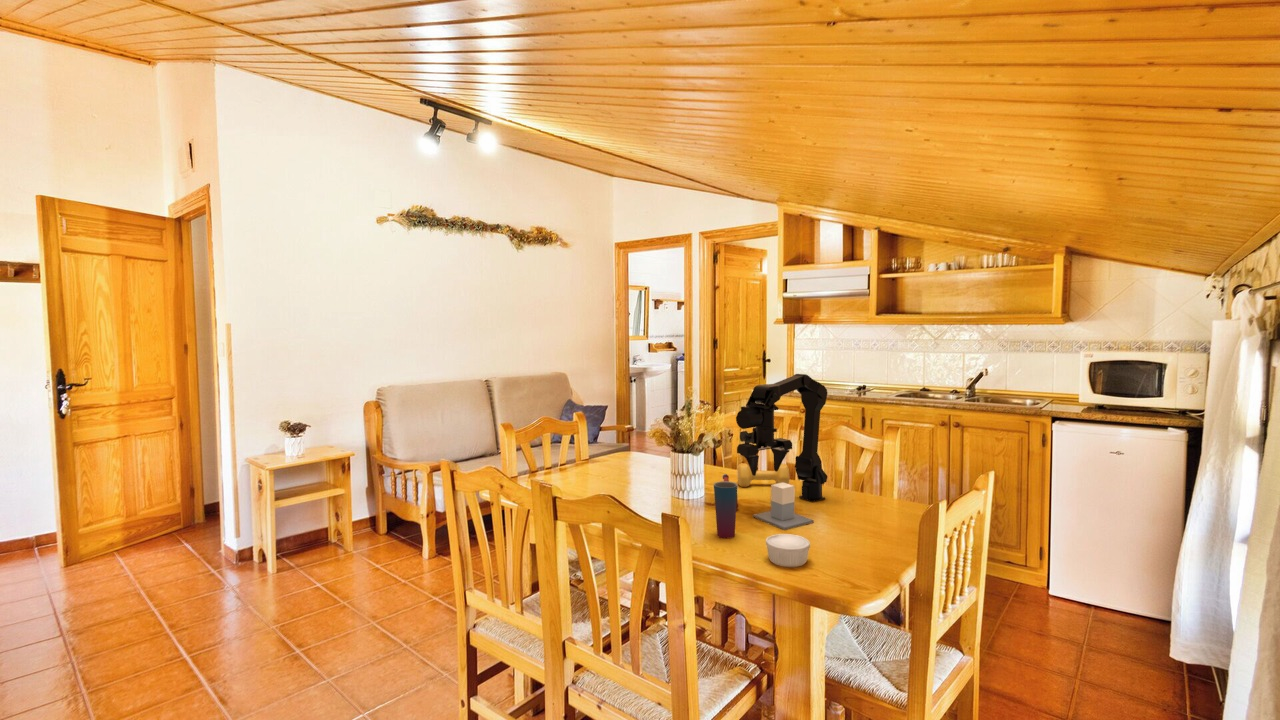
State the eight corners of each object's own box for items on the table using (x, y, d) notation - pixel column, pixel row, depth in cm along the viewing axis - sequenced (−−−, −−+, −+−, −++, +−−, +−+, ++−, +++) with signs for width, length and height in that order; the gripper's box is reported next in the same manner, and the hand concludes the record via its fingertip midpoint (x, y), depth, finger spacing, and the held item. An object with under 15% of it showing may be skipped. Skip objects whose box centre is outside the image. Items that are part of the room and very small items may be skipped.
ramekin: (778, 549, 166) (778, 530, 166) (817, 559, 159) (817, 539, 158) (757, 562, 157) (757, 542, 157) (798, 573, 150) (798, 552, 150)
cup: (739, 532, 179) (739, 482, 178) (735, 540, 173) (735, 488, 172) (716, 530, 181) (716, 480, 180) (711, 538, 175) (711, 486, 174)
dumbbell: (738, 489, 225) (738, 467, 224) (736, 482, 234) (736, 461, 233) (790, 489, 223) (790, 467, 222) (787, 482, 232) (787, 461, 231)
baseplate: (781, 510, 198) (781, 507, 198) (813, 522, 186) (813, 519, 186) (752, 517, 192) (752, 514, 192) (784, 530, 180) (784, 527, 180)
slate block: (782, 513, 193) (782, 497, 192) (794, 517, 188) (794, 501, 188) (771, 516, 190) (770, 500, 190) (782, 520, 186) (782, 504, 186)
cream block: (794, 501, 188) (794, 485, 188) (782, 504, 186) (782, 488, 185) (783, 497, 192) (783, 482, 192) (771, 500, 190) (771, 484, 190)
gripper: (769, 418, 206) (769, 464, 207) (725, 424, 197) (726, 472, 198) (793, 423, 196) (793, 471, 197) (748, 429, 187) (748, 479, 188)
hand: (765, 473), depth 195 cm, fingers open, 9 cm apart
